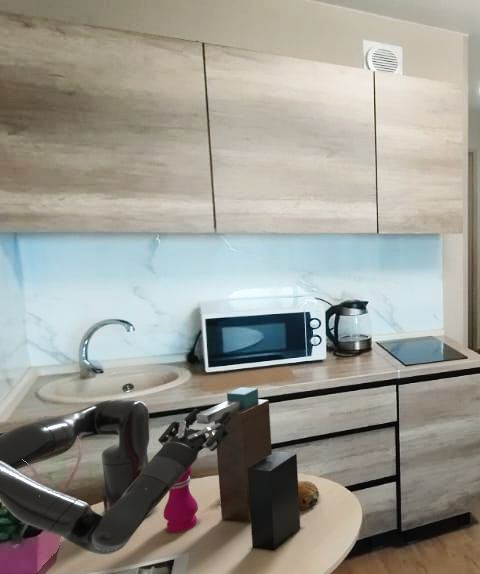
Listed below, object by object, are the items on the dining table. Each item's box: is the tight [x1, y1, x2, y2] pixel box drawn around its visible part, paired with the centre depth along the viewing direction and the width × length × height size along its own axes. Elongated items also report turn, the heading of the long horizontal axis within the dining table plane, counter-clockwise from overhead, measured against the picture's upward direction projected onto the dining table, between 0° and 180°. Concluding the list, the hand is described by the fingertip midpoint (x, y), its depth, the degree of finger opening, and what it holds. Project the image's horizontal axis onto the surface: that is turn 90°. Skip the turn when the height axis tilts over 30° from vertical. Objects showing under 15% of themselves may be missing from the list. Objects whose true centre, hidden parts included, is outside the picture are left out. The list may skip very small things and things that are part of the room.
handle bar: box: [196, 386, 259, 425], centre depth 152 cm, size 5×16×4 cm, turn 175°
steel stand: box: [247, 451, 301, 551], centre depth 150 cm, size 6×10×22 cm, turn 175°
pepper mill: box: [163, 465, 199, 533], centre depth 153 cm, size 7×7×20 cm
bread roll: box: [298, 480, 320, 511], centre depth 169 cm, size 10×10×8 cm
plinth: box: [214, 398, 273, 524], centre depth 160 cm, size 8×10×32 cm
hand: (213, 412), depth 148 cm, fingers open, 8 cm apart
